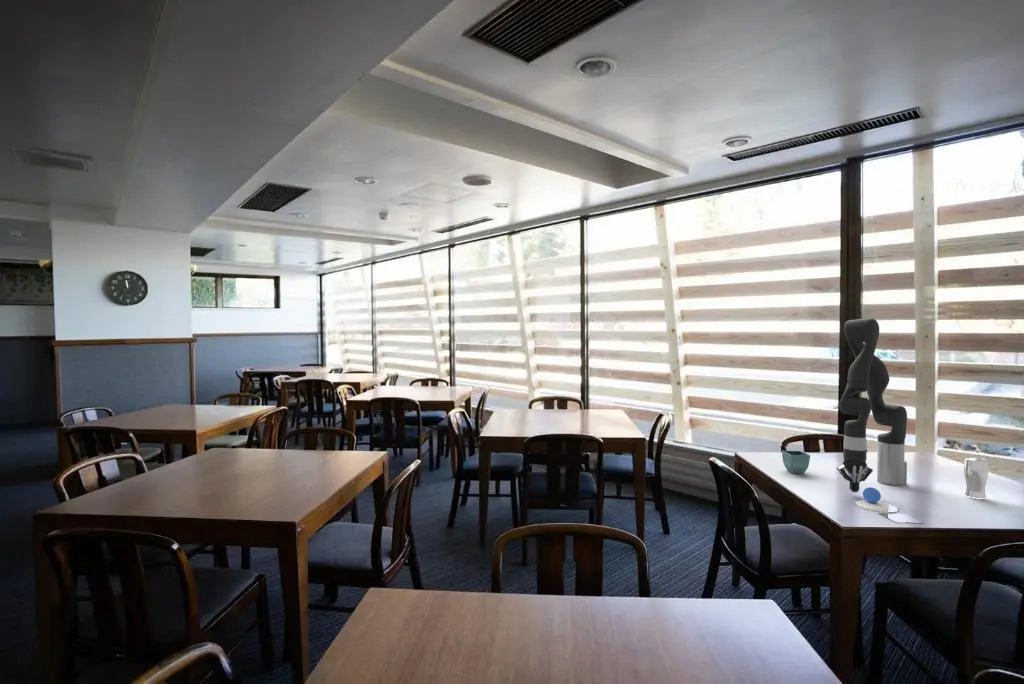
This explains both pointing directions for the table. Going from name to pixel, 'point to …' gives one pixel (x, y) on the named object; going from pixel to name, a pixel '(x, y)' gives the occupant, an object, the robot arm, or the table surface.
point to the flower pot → (796, 461)
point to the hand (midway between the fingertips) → (854, 491)
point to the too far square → (884, 514)
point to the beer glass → (975, 476)
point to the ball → (871, 495)
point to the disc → (874, 506)
